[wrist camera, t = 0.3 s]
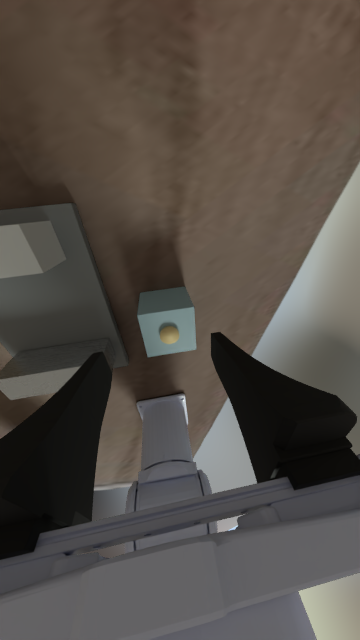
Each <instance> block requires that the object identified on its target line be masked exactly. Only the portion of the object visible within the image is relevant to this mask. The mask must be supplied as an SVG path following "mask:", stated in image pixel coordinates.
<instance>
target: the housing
mask: <svg viewBox="0 0 360 640" xmlns="http://www.w3.org/2000/svg"><path fill="white" fill-rule="evenodd" d="M137 317H138V321H139V325H140V328H141V332H142V336H143V340H144V344H145V348H146V352H147V356H148V357H153V356H159V355H165V354H171V353H178V352H184V351H190V350H196V334H195V315H194V306H193V303H192V301H191V299H190V297H189V294H188V292H187V290H186V288H185V287H178V288H171V289H163V290H156V291H149V292H142V293H140V297H139V305H138V312H137Z"/></svg>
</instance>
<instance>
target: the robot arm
mask: <svg viewBox="0 0 360 640" xmlns="http://www.w3.org/2000/svg"><path fill="white" fill-rule="evenodd" d="M211 357H212V360H213V363H214V366H215V369H216V371H217V373H218V376H219V378H220V380H221V382H222V384H223V386H224V388H225V390H226V393H227V395H228V397H229V399H230V401H231V404H232V406H233V409H234V412H235V415H236V418H237V420H238V423H239V426H240V429H241V432H242V435H243V438H244V441H245V444H246V447H247V450H248V453H249V456H250V460H251V463H252V466H253V470H254V473H255V476H256V479H257V484H253V485H249V486H244V487H240V488H236V489H231V490H227V491H223V492H218V493H214V494H212V491H211V487H210V484H209V480H208V478H207V476H206V474H205V473H203V471H202V470H197V467H196V462H193V457H192V451H191V445H190V440H189V434H188V428H187V425H188V417H187V408H186V400H185V394H177V395H171V396H166V397H160V398H155V399H149V400H144V401H139V402H137V408H138V410H139V413H140V415H141V418H142V421H143V430H142V458H141V471H139V475H138V481H134V482H133V484H132V486H131V487H130V489H129V491H128V495H127V501H126V510H125V514H123V515H118V516H114V517H109V518H105V519H101V520H96V521H92V506H93V505H92V504H93V492H94V481H95V470H96V461H97V453H98V445H99V438H100V431H101V426H102V421H103V417H104V413H105V409H106V405H107V401H108V397H109V393H110V389H111V381H112V371H111V369H110V367H109V365H108V362H107V360H106V358H105V355H104V353H103V351H102V352H96V353H93V354H92V355H91V356H90V357H89V358H88V359H87V360H86V361H85V362H84V364H83V365H82V366H81V367H80V368H79V369H78V370H77V371H76V373H75V374H74V375H73V376H72V377H71V378H70V379H69V380H68V381H67V382H66V383H65V384H64V385H63V386H62V387H61V388H60V389H59V390H58V391H57V392H56V393H55V394H54V395H53V396H52V397H51V398H50V399H49V400H48V401H47V402H46V403H45V404H44V405H42V406H41V407H40V408H39V409H38V410H37V411H36V412H34V413H33V414H32V415H31V416H29V417H28V418H27V419H26V420H25V421H23V422H22V423H21V424H20V425H18V426H17V427H16V428H15V429H13V430H12V431H11V432H9V433H8V434H7V435H5V436H4V437H2V438H1V439H0V640H317V639H316V636H315V633H314V631H313V628H312V626H311V623H310V621H309V618H308V616H307V613H306V610H305V608H304V605H303V603H302V600H301V597H300V595H299V592H298V591H300V590H303V589H306V588H310V587H313V586H316V585H320V584H323V583H327V582H330V581H333V580H336V579H340V578H343V577H347V576H350V575H353V574H357V573H360V454H358V455H357V456H356V455H355V453H353V451H352V450H351V449H350V448H351V447H352V444H351V443H350V442H349V440H348V439H347V438H346V435H347V434H348V433H349V432H350V431H351V429H352V428H353V427H354V425H355V424H356V422H357V416H356V414H355V413H354V412H353V411H352V410H351V409H350V408H349V407H348V406H347V405H346V404H345V403H344V402H343V401H342V400H341V399H340V398H338V397H337V396H336V395H333V394H330V393H327V392H325V391H322V390H319V389H316V388H313V387H311V386H308V385H306V384H303V383H301V382H298V381H296V380H294V379H292V378H289V377H287V376H285V375H283V374H281V373H279V372H277V371H275V370H273V369H271V368H269V367H268V366H266V365H264V364H262V363H261V362H259V361H258V360H256V359H254V358H253V357H251V356H250V355H249V354H247V353H246V352H244V351H243V350H242V349H240V348H239V347H238V346H236V345H235V344H234V343H233V342H231V341H230V340H229V339H228V338H227V337H225V336H224V335H223V334H222V333H221V332H216V333H211ZM247 513H248V514H247ZM243 514H245V515H243ZM239 515H243V516H240V517H238V519H237V522H238V527H237V528H236V529H235V530H231V531H225V532H219V533H217V521H218V520H222V519H227V518H231V517H235V516H239ZM91 521H92V522H91ZM122 543H124V547H125V554H122V555H119V556H116V557H113V558H105V557H102V556H100V555H99V553H98V552H97V553H88V554H81V553H85V552H89V551H94V550H98V549H102V548H106V547H110V546H114V545H118V544H122ZM77 554H79V555H77Z"/></svg>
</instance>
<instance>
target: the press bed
mask: <svg viewBox="0 0 360 640" xmlns="http://www.w3.org/2000/svg"><path fill="white" fill-rule="evenodd" d="M104 338H109V340H110V342H111V345H112V347H113V350H114V352H115V355H116V359H115V364H114V368H118V367H124V366H128V364H129V359H128V356H127V353H126V350H125V347H124V344H123V341H122V339H121V336H120V333H119V330H118V327H117V324H116V321H115V318H114V315H113V312H112V309H111V306H110V303H109V301H108V298H107V295H106V292H105V289H104V286H103V283H102V280H101V277H100V274H99V271H98V268H97V265H96V263H95V260H94V257H93V254H92V251H91V248H90V245H89V242H88V239H87V236H86V233H85V230H84V227H83V225H82V222H81V219H80V216H79V213H78V210H77V207H76V204H75V203H66V204H56V205H46V206H36V207H26V208H16V209H6V210H0V342H1V343H2V345H3V346H4V347H5V348H6V349H7V351H8V352H9V353H10V354H11V355H12V357H14V356H15V355H16V354H17V353H18V352H21V351H27V350H33V349H40V348H46V347H53V346H59V345H66V344H72V343H79V342H85V341H92V340H98V339H104Z"/></svg>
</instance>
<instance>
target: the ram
mask: <svg viewBox="0 0 360 640" xmlns="http://www.w3.org/2000/svg"><path fill="white" fill-rule="evenodd" d="M102 351H103V353H104V355H105V358H106V360H107V362H108V365H109V367H110V369H111V371H112V372H113V368H114V364H115V359H116V355H115V352H114V350H113V347H112V345H111V342H110V340H109V338H104V339H98V340H92V341H85V342H79V343H72V344H66V345H59V346H53V347H46V348H40V349H33V350H27V351H21V352H18V353H17V354H16V355H15V356H14V357H13V358H12V359H11V360H10V361H9V362H8V363H7V364H6V365H5V367H4V368H3V369H2V370H1V371H0V390H1V391H2V392H3V393H4V394H5V395H6V396H7V397H8V398H9V399H10V400H15V399H20V398H26V397H32V396H38V395H43V394H49V393H55V392H57V391H58V390H59V389H60V388H61V387H62V386H63V385H64V384H65V383H66V382H67V381H68V380H69V379H70V378H71V377H72V376H73V375H74V374H75V373H76V371H77V370H78V369H79V368H80V367H81V366H82V365H83V364H84V362H85V361H86V360H87V359H88V358H89V357H90V356H91V355H92V354H93V353H96V352H102Z"/></svg>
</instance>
